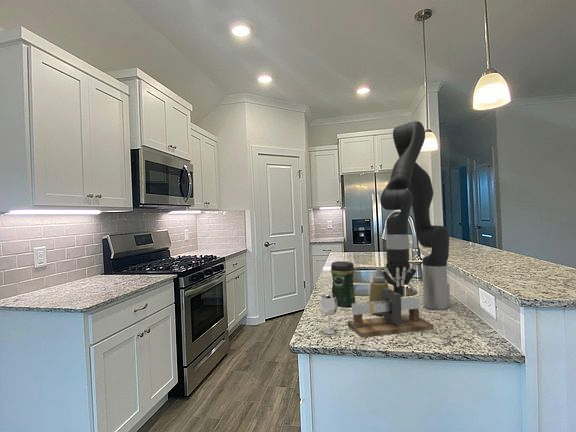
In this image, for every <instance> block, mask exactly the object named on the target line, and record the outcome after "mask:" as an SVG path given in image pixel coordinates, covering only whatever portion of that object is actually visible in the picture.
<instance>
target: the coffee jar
mask: <svg viewBox="0 0 576 432" xmlns="http://www.w3.org/2000/svg"><path fill="white" fill-rule="evenodd" d="M330 273H331V276H332V288H331V290H332V293H331V295H334V296H336V300H337V305H338V306H340V307H352V304H353V303H356V295H355V287H354V274H355V267H354V263H353V262H352V261H343V260H341V261H340V260H339V261H338V260H337V261H333V262H331V265H330Z"/></svg>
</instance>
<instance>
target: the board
mask: <svg viewBox="0 0 576 432" xmlns="http://www.w3.org/2000/svg"><path fill="white" fill-rule="evenodd" d="M352 315H353V319H352V320H347V326H348V327H349V328H350V329H351V330H352V331H353V332H355V334H357V335H358V336H359V337H360V338H369V337H376V336H377V337H378V336H385V335H394V334H402V333H414V332H419V331H421V332H423V331H429V330H434V329H435V328H434V324H433V323H431V322H429V321H427V320H425V319H424V318H422V317H420V308H418V309H408V314H403V315H402V314H401V319H402V324H399V325H396V324H394V323H393V322H391V321H389V320H388V319H386V318H385V317H383V316H381V317H376V318H375V317H374V318H365V319H364V318H363V314H359V315H355V314H354V313H352Z"/></svg>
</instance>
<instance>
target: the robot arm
mask: <svg viewBox="0 0 576 432" xmlns="http://www.w3.org/2000/svg"><path fill="white" fill-rule="evenodd" d="M392 138H393V143H394V146H395V149H396V152H397V155H398V159H397V160H396V162H395V163H394V165H393V167H392V171H391V175H390V180H389V181H388V182H387V184H386V186H385V187H384V189H383V191H382V193H381V196H380V200H379V202H380V205H381V207H382V208H383V209H384V210H386V211H399V214H398V215H394V216H389V217H388V218H386V240H385V244H386V245H385V247H386V249H385V250H386V253H385V254H386V265H385V268H384V269H383V270H381V271H380V273H381V275H382V276H383V277H384V278H385V282H387V283H388V284H389V285H391V286H393V291H395V292H397V293H399V294H401V298H403V296H404V286H405V285H409V283H410V282H411V280H412V279H413V277H414V275H415V274H416V272H417V269H415V268H412V267H411V264H410V262H409V261H410V240H409V239H410V238H409V227H408V226H409V217H410V213H411V209H412V213H413V218H414V224H415V233H416V238H417V241H418V243H419V245H420V246H422V247H423V248H429V249H431V252H430V254H428V255H426V256H424V257H422V260H421V261H422V262H421V264H422V265H421V267H422V294H423V295H422V299H423V300H422V302H423V305H422V306H423V307H424V308H425V309H426V308H427V309H428V310H429V309H430V310H440V311H441V310H446V309H448V308H451V290H450V289H451V285H450V283H448V259H449V256H450V254H449V253H450V234H449V231H448V229H447V227H445V226H443V225H433V224H431V220H430V214H429V212H430V211H429V210H430V206H431V205H432V202H433V198H434V188H433V183H432V180H431V177H430V175H429V174H428V172H427V171H426V170H424V168H423V167H421V165H419V164H418V162H417V160H418V157H419V155H420V153H421V150H422V147H423V145H424V142H425V139H426V130H425V127H424V125H423V123H422V122H421V121H418V120H414V121H411V122H407V123H404V124H402V125H401V124H400V125H398V126H395V127H394V128H393V130H392ZM390 275H391V276H390Z"/></svg>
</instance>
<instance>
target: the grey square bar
mask: <svg viewBox="0 0 576 432" xmlns="http://www.w3.org/2000/svg"><path fill="white" fill-rule="evenodd" d="M418 308H419V309H421V300H420V298H417V297H406V298H401V311H407V310H408V311H409V309H418ZM389 311H392V301H391V300H384V301H374V302H370V300H367V301H366V302H355V303H353V304H352V306H351V313H352V314H353V313H354V314H355V315H359V314H362V315H368V314H370V315H375V314H374V313H379V312H389Z"/></svg>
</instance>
